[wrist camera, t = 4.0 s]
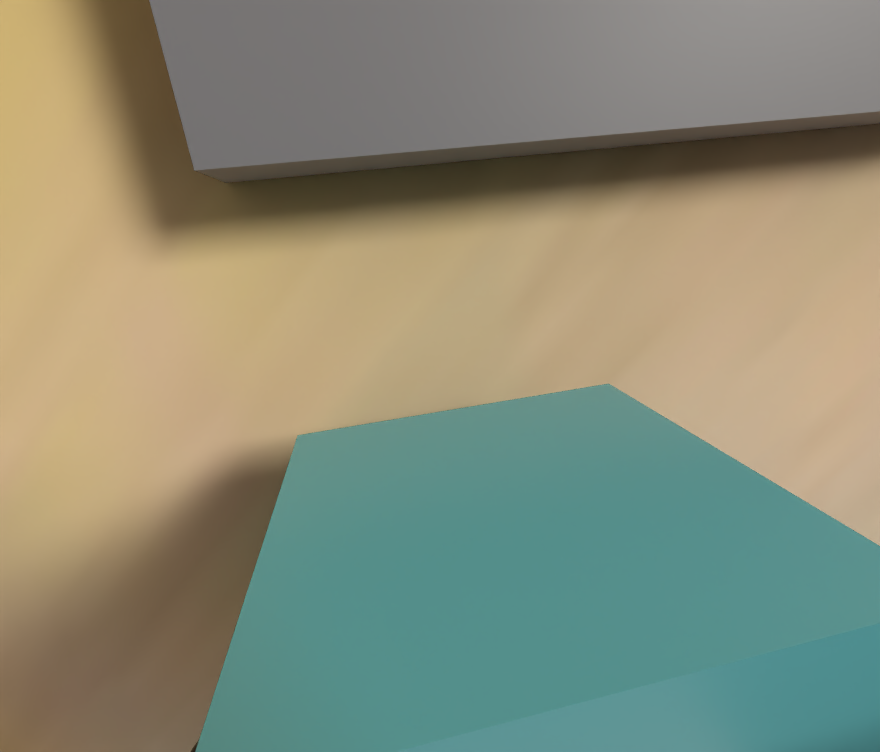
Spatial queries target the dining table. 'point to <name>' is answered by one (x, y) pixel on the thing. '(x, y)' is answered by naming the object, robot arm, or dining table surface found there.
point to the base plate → (503, 77)
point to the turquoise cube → (548, 595)
